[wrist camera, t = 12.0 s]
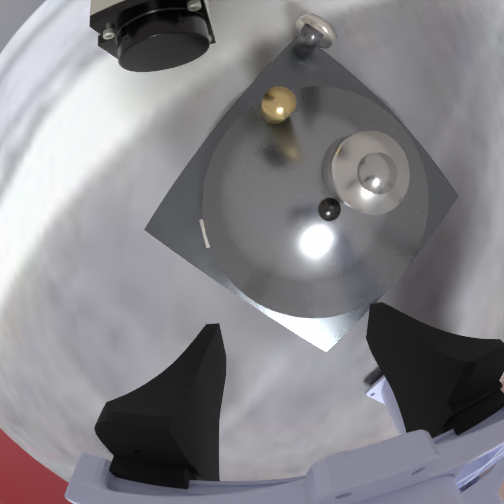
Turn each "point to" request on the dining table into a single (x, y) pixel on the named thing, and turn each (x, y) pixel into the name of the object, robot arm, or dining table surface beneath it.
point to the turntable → (306, 206)
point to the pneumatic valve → (152, 31)
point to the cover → (366, 172)
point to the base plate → (193, 176)
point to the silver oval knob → (313, 34)
